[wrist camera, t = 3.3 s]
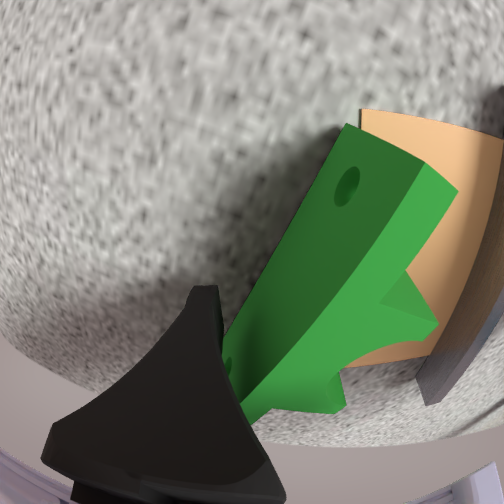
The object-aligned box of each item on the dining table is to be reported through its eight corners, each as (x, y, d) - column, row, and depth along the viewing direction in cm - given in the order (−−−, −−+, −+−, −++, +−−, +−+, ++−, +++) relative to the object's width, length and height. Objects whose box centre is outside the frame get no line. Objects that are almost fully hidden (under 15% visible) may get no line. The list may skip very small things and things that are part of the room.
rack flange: (540, 105, 6) (576, 118, 4) (449, 368, 15) (461, 395, 13) (360, 37, 6) (392, 22, 4) (318, 390, 16) (322, 425, 14)
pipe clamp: (285, 361, 14) (293, 440, 10) (217, 344, 13) (211, 430, 9) (426, 175, 9) (508, 242, 5) (346, 120, 8) (429, 163, 4)
